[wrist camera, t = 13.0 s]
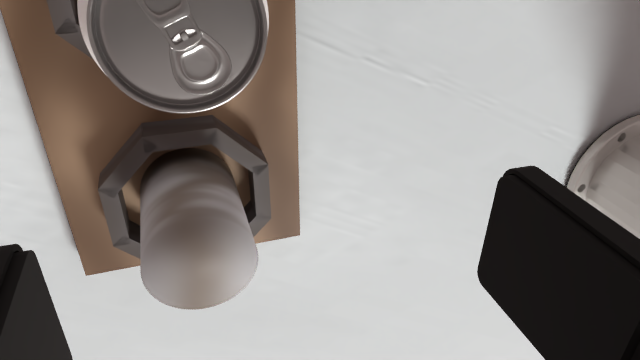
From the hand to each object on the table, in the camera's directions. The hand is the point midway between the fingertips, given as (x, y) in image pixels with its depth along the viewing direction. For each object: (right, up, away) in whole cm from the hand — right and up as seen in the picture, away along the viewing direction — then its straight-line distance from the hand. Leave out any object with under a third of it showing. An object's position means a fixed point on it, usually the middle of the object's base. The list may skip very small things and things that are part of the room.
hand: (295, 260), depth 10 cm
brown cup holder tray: (-9, +7, +20) cm, 23 cm away
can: (-8, +12, +16) cm, 21 cm away
